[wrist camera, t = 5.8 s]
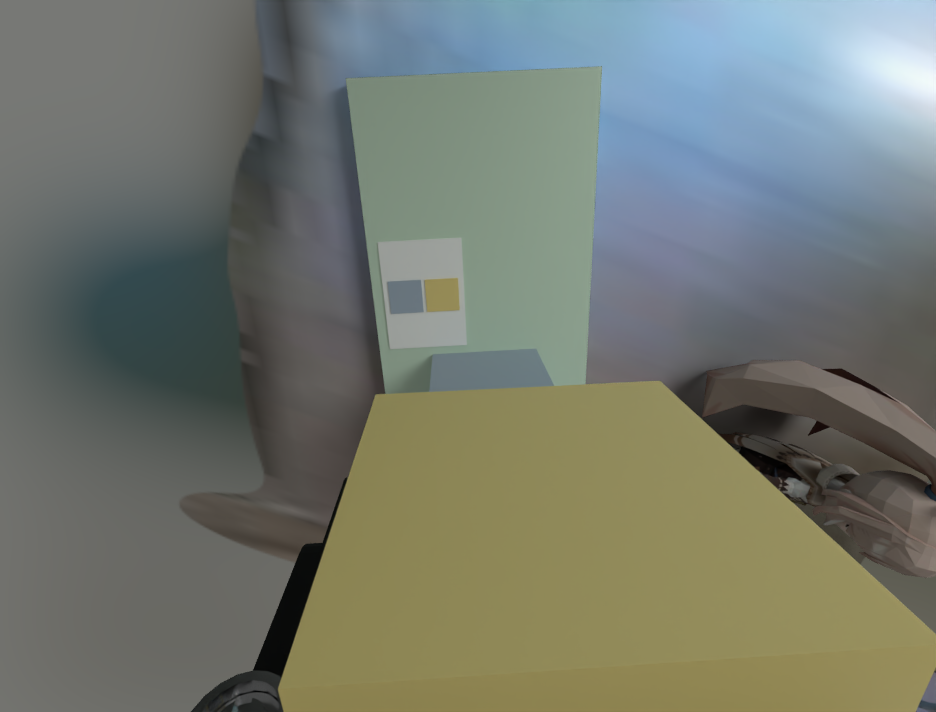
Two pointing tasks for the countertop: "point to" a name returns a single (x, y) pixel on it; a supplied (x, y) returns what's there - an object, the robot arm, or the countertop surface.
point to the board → (478, 215)
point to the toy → (839, 486)
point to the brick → (585, 571)
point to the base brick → (488, 370)
